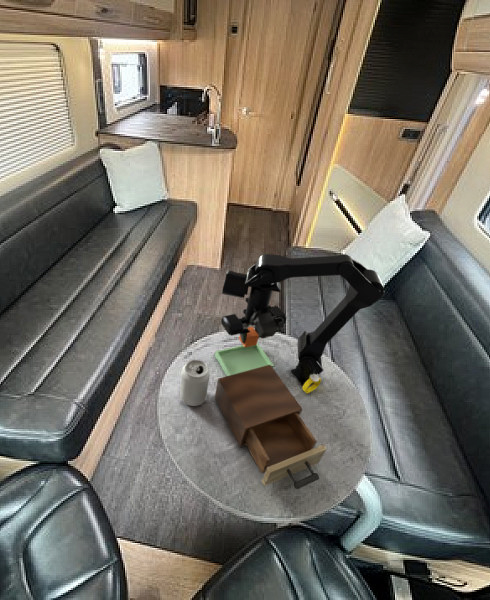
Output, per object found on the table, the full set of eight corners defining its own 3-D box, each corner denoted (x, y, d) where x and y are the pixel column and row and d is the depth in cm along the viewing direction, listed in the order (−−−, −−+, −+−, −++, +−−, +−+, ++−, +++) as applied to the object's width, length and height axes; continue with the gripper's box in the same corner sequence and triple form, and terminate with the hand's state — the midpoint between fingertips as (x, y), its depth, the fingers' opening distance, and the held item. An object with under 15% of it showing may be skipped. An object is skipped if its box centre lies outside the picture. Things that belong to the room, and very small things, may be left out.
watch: (312, 383, 99) (318, 370, 95) (319, 390, 97) (325, 377, 94) (298, 390, 96) (304, 377, 93) (305, 397, 94) (311, 384, 91)
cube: (250, 336, 100) (252, 326, 98) (256, 344, 98) (258, 335, 95) (238, 338, 99) (240, 329, 97) (244, 347, 96) (247, 337, 94)
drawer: (330, 480, 75) (339, 466, 71) (274, 505, 69) (281, 492, 65) (284, 413, 88) (290, 398, 84) (235, 430, 82) (239, 415, 79)
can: (203, 410, 87) (207, 381, 80) (176, 404, 88) (178, 375, 81) (208, 389, 93) (213, 360, 86) (183, 383, 94) (186, 354, 87)
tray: (255, 345, 110) (256, 341, 109) (272, 369, 102) (274, 365, 100) (214, 355, 104) (215, 351, 103) (230, 381, 96) (231, 377, 95)
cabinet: (294, 427, 86) (302, 408, 81) (239, 447, 80) (245, 428, 75) (264, 382, 97) (270, 364, 92) (214, 397, 91) (217, 378, 86)
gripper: (243, 324, 79) (233, 367, 88) (304, 311, 86) (289, 352, 95) (223, 298, 87) (217, 340, 96) (281, 288, 94) (269, 328, 103)
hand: (249, 341), depth 97 cm, fingers closed on cube, 4 cm apart
